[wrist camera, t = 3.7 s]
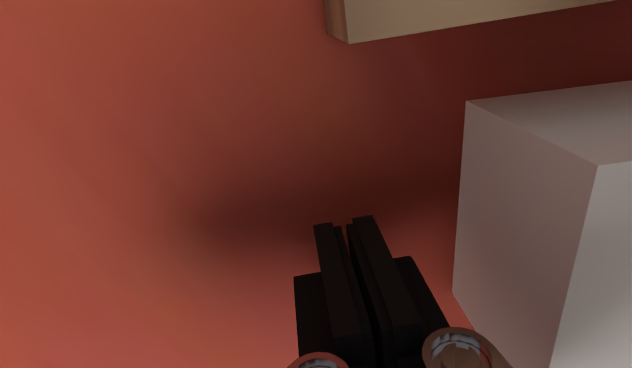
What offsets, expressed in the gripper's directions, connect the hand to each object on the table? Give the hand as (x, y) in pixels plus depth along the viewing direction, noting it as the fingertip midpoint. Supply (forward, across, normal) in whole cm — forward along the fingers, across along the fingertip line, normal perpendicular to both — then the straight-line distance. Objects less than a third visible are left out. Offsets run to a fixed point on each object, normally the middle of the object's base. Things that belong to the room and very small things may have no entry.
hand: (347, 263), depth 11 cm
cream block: (+2, -7, 0) cm, 8 cm away
